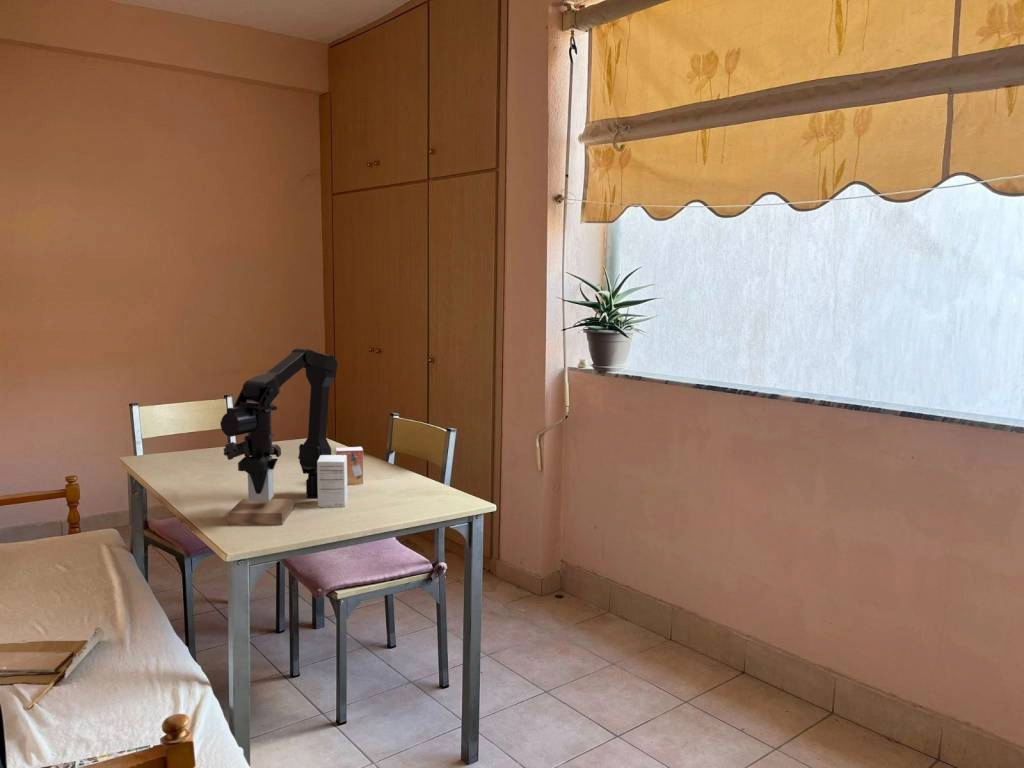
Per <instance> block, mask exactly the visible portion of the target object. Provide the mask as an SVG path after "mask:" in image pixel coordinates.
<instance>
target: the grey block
mask: <svg viewBox="0 0 1024 768" xmlns="http://www.w3.org/2000/svg"><path fill="white" fill-rule="evenodd" d="M274 487H275V486H274V470H273V469H269V471H268V474H267V477H266V480H265V483H264V486H263V489H262V492H261V493H260V494H256V491H255V488H254V485H253V482H252V479H251V476H250V475H249V474H248V473H247V492H248V493H247V494H248V495H247V496H248V498H247V499H248V501H270V500H271V499H273V498H274V497H275V496H274Z"/></svg>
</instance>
